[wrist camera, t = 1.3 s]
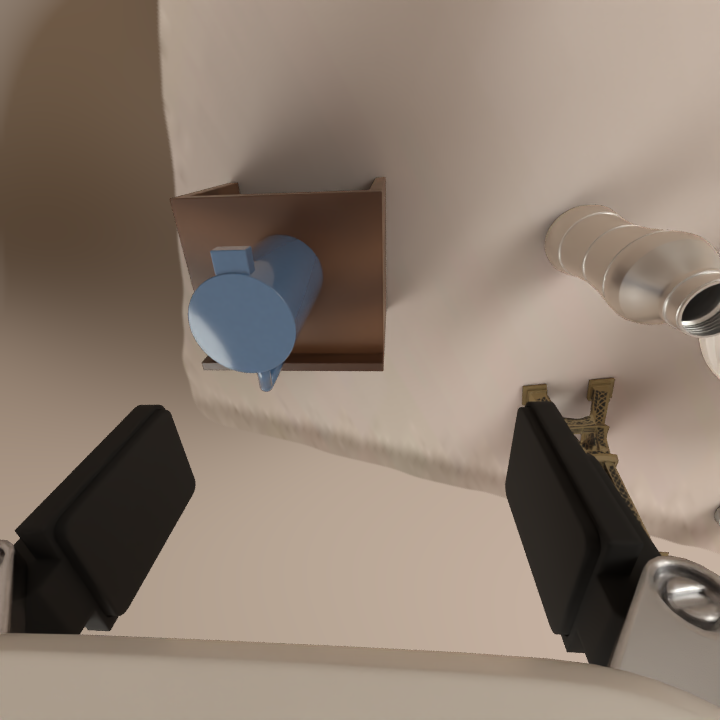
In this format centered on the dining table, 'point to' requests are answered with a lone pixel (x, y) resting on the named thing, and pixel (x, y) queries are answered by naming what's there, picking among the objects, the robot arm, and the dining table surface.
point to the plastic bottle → (640, 268)
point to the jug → (256, 304)
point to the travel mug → (717, 516)
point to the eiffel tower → (592, 431)
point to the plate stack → (711, 353)
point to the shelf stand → (333, 249)
